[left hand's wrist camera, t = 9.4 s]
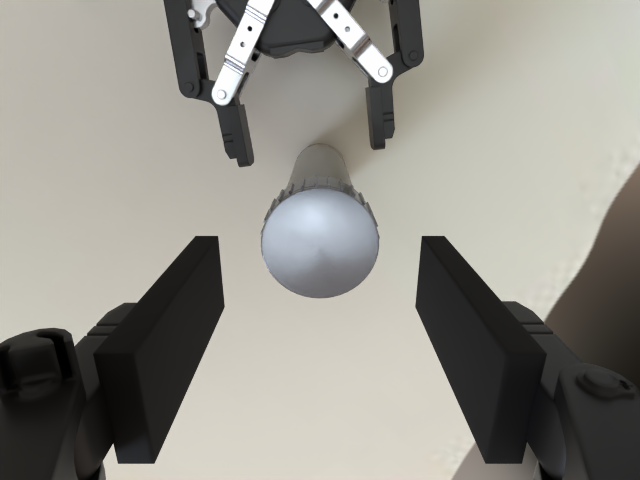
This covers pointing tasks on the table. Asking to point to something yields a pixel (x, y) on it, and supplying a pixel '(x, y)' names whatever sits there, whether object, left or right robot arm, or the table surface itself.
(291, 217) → the lid
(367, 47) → the right robot arm
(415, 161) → the table surface
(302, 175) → the grey long cylinder
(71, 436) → the left robot arm
